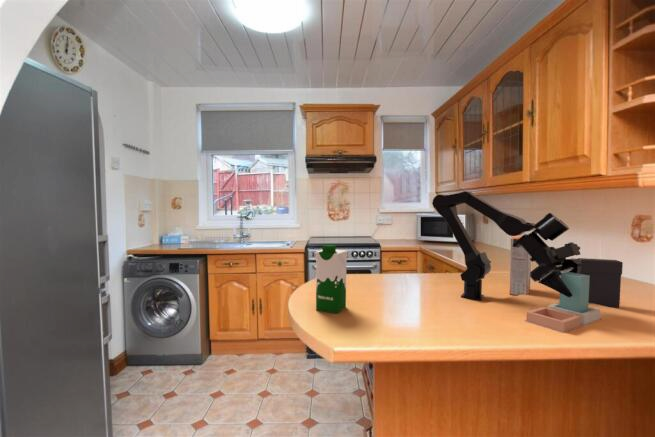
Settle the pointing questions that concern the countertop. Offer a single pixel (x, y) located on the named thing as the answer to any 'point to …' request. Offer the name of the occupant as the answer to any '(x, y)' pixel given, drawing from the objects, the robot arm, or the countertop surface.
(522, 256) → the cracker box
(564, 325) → the organiser
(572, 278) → the plug
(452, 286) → the countertop surface
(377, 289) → the countertop surface
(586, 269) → the black box
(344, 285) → the milk carton
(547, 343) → the countertop surface
